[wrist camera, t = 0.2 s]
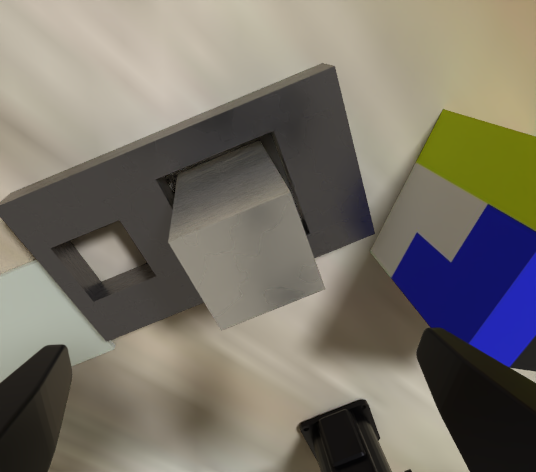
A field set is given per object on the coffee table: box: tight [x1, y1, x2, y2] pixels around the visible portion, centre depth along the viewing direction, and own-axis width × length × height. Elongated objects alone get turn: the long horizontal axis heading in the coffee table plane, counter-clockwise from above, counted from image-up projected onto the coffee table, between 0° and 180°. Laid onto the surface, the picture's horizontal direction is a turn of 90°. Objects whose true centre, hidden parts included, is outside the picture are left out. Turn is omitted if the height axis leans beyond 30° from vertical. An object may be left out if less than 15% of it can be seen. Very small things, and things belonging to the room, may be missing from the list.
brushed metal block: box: [168, 140, 325, 331], centre depth 19 cm, size 5×5×8 cm
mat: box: [0, 260, 115, 383], centre depth 24 cm, size 8×8×1 cm
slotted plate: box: [0, 63, 375, 342], centre depth 21 cm, size 10×18×2 cm, turn 110°
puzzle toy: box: [370, 109, 536, 371], centre depth 21 cm, size 10×10×10 cm
